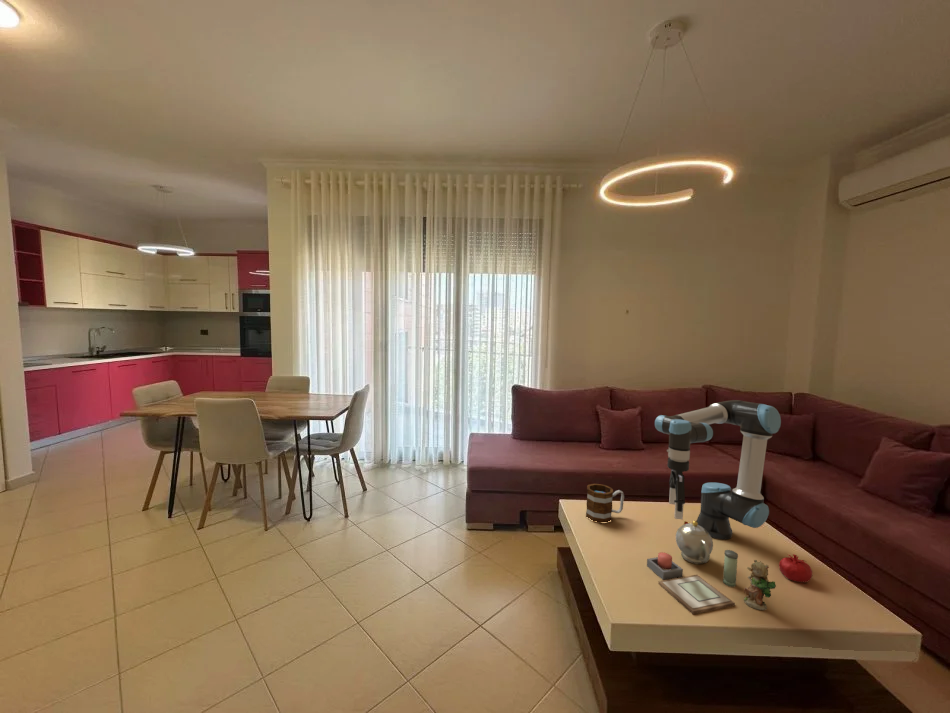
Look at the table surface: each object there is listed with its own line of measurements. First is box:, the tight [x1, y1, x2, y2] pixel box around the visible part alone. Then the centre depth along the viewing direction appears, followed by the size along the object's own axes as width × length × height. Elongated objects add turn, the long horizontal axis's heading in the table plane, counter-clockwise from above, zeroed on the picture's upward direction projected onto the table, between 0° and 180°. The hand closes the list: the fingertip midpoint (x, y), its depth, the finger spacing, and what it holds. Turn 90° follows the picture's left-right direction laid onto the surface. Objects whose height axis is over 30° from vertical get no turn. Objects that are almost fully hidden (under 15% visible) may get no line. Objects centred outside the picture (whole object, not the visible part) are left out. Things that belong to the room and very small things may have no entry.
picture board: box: [657, 574, 736, 615], centre depth 138 cm, size 18×16×1 cm
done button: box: [657, 551, 673, 570], centre depth 151 cm, size 5×5×4 cm
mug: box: [585, 483, 625, 522], centre depth 195 cm, size 20×14×15 cm
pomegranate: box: [778, 553, 813, 583], centre depth 149 cm, size 10×10×9 cm
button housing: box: [646, 556, 684, 581], centre depth 151 cm, size 9×9×3 cm
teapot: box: [675, 520, 714, 565], centre depth 158 cm, size 18×14×16 cm
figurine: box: [743, 559, 776, 611], centre depth 132 cm, size 9×8×15 cm
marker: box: [722, 549, 739, 588], centre depth 144 cm, size 4×4×12 cm
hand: (675, 511), depth 152 cm, fingers open, 13 cm apart
